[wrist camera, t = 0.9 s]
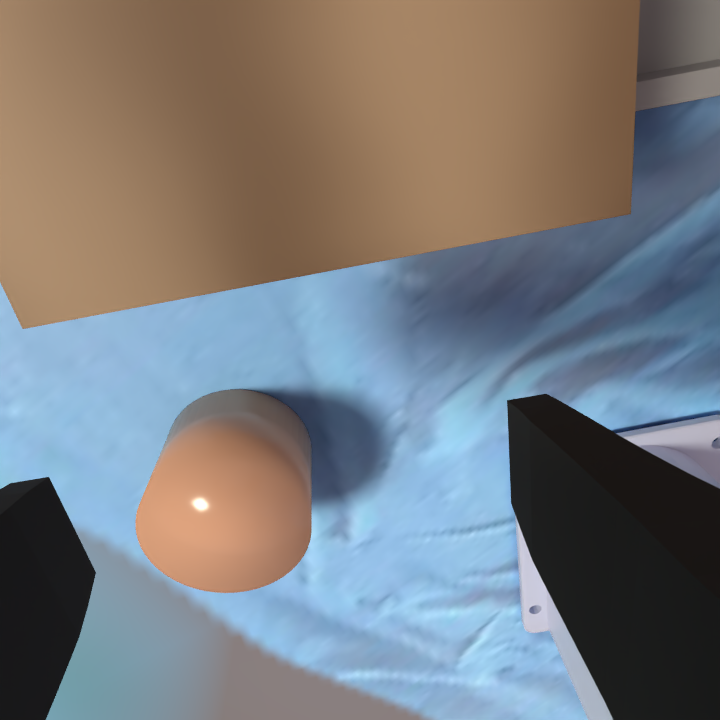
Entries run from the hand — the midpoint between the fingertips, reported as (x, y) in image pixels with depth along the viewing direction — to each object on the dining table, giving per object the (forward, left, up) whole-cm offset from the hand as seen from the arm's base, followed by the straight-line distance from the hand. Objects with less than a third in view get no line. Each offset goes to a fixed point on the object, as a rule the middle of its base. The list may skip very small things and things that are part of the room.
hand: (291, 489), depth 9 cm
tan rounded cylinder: (-5, +3, -10) cm, 11 cm away
